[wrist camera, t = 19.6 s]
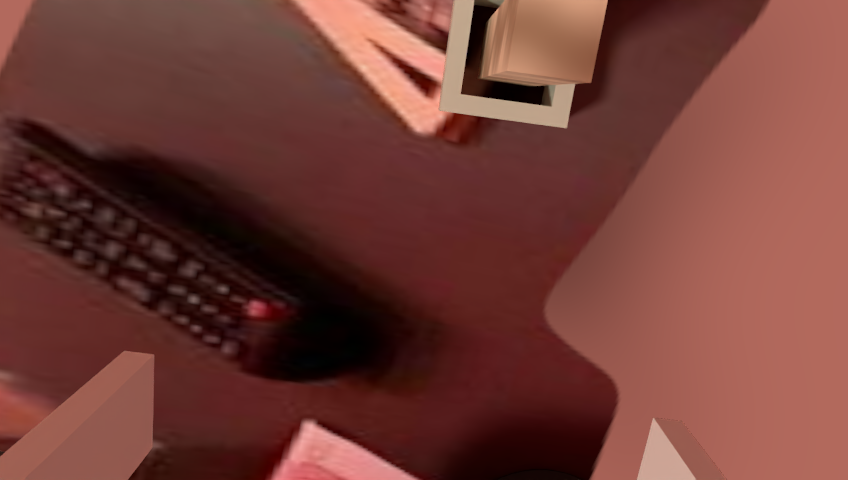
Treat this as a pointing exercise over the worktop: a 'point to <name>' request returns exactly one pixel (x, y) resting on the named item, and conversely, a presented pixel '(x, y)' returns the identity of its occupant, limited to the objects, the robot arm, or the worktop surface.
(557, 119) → the cream square open box
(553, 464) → the worktop surface
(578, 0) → the wooden square peg
